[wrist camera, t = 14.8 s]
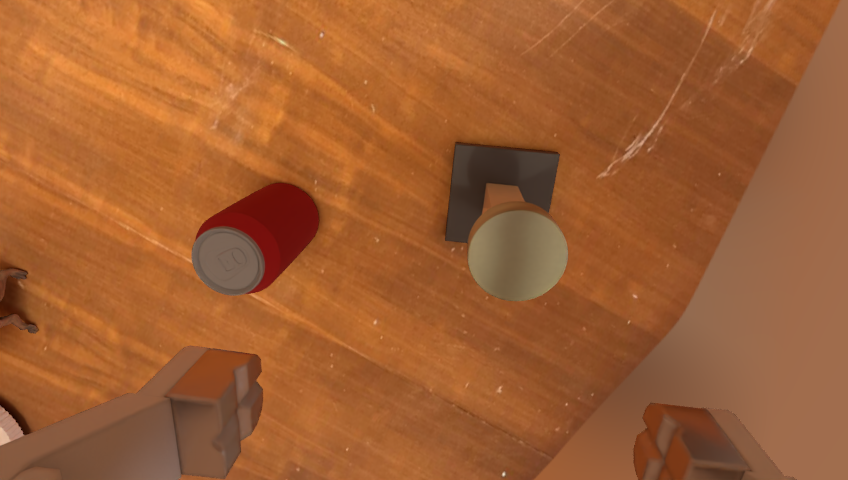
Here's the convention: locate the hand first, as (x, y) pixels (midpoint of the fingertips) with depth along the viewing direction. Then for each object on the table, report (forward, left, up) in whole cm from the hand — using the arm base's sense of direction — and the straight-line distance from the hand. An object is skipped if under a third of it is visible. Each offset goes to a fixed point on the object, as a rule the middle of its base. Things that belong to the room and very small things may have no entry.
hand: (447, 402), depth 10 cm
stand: (-4, +4, -33) cm, 34 cm away
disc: (-4, +4, -20) cm, 21 cm away
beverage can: (+16, +8, -33) cm, 38 cm away
